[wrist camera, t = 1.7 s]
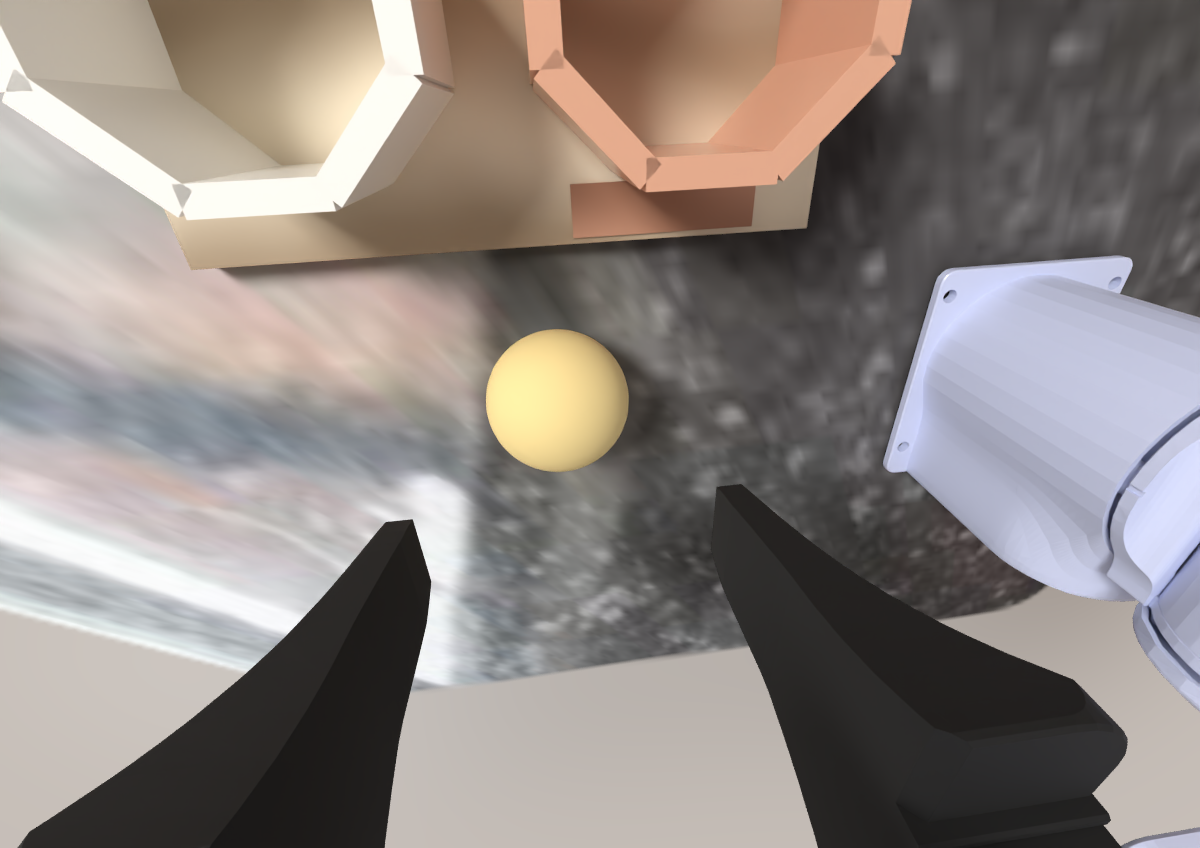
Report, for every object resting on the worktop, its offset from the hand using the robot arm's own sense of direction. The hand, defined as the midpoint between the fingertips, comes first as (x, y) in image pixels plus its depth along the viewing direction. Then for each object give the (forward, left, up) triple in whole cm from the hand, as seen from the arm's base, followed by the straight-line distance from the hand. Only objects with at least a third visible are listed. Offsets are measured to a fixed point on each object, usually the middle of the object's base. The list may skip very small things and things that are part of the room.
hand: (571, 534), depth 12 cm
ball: (0, 0, -7) cm, 7 cm away
